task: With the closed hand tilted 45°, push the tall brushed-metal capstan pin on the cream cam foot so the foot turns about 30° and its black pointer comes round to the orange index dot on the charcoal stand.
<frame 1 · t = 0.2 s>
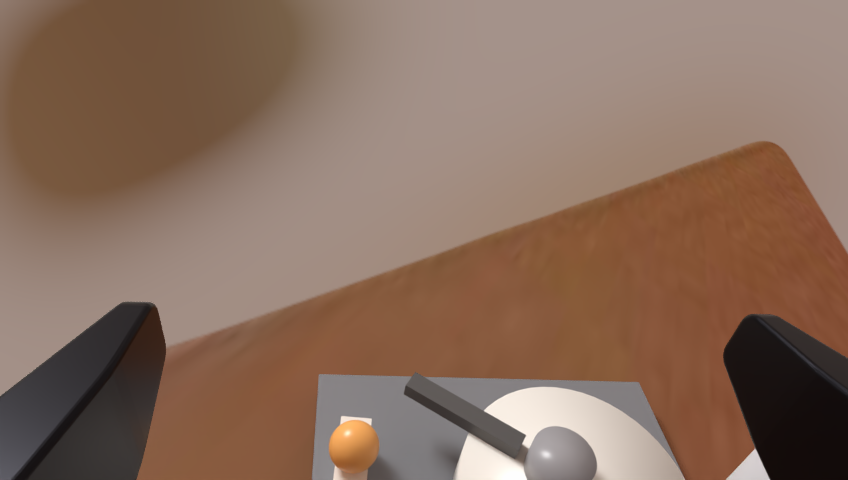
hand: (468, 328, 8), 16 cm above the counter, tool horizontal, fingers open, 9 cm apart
cam foot: (594, 434, 19), point 7 cm above the counter, hinge at 0.0°
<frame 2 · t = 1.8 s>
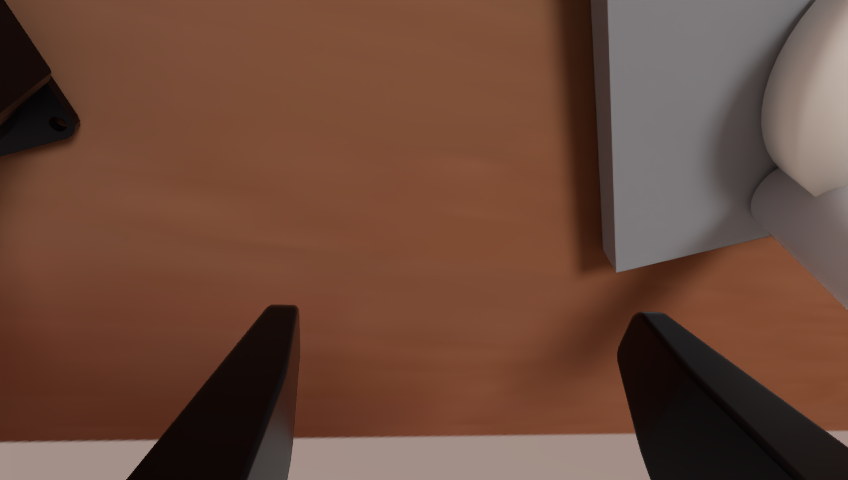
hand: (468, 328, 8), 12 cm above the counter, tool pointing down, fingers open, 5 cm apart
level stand: (833, 9, 18), on the counter
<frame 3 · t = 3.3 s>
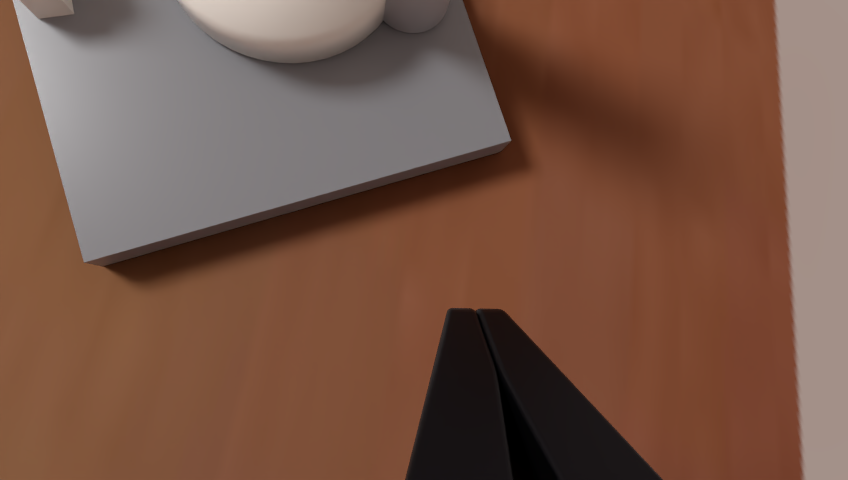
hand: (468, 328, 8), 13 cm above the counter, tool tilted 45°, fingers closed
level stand: (256, 19, 22), on the counter
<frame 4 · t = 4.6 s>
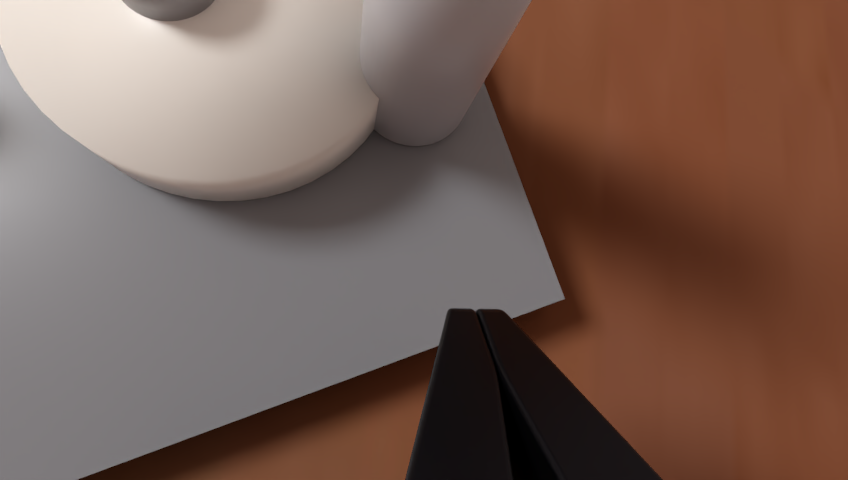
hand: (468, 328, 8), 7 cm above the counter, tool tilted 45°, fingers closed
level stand: (191, 124, 16), on the counter
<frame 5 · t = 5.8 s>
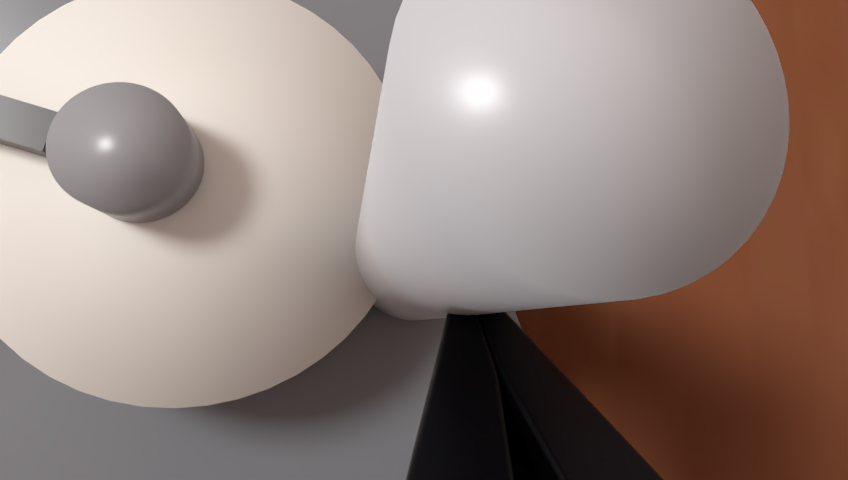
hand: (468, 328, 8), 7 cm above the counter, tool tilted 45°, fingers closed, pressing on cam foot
cam foot: (105, 115, 8), point 7 cm above the counter, hinge at 0.4°, touching gripper
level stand: (173, 287, 14), on the counter
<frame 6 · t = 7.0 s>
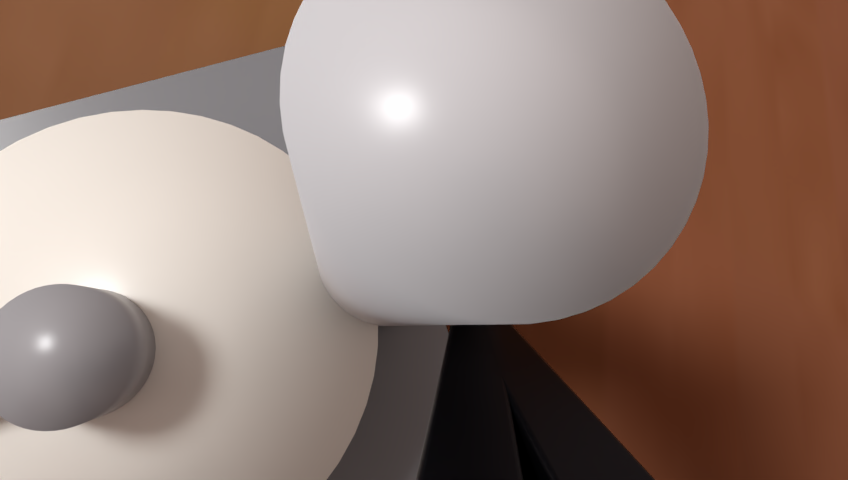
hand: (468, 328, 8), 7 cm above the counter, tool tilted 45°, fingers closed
cam foot: (30, 350, 8), point 7 cm above the counter, hinge at 33.8°, touching gripper
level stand: (134, 438, 14), on the counter
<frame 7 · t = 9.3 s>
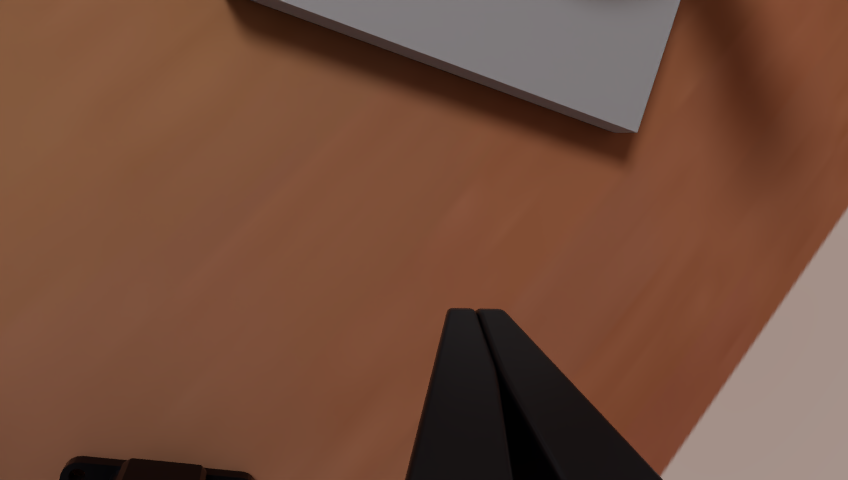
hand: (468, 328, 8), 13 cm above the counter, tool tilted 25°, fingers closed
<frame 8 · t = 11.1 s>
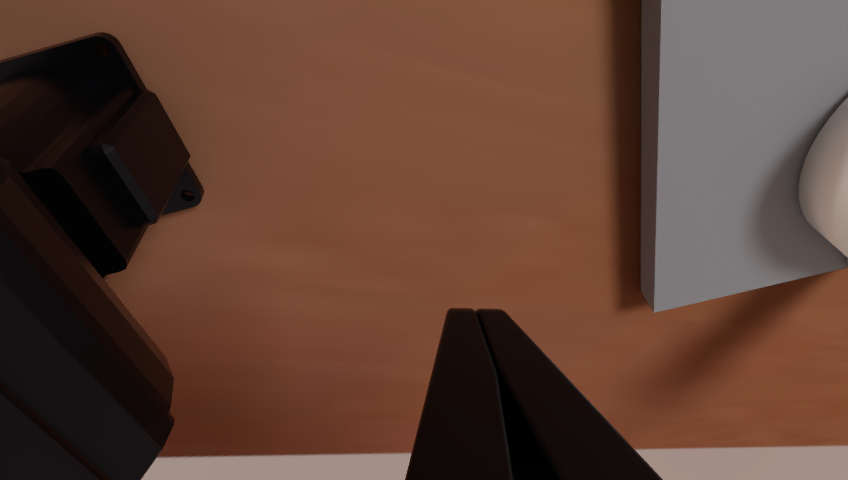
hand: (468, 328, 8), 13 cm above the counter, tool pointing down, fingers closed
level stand: (847, 94, 21), on the counter
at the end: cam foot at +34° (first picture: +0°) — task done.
